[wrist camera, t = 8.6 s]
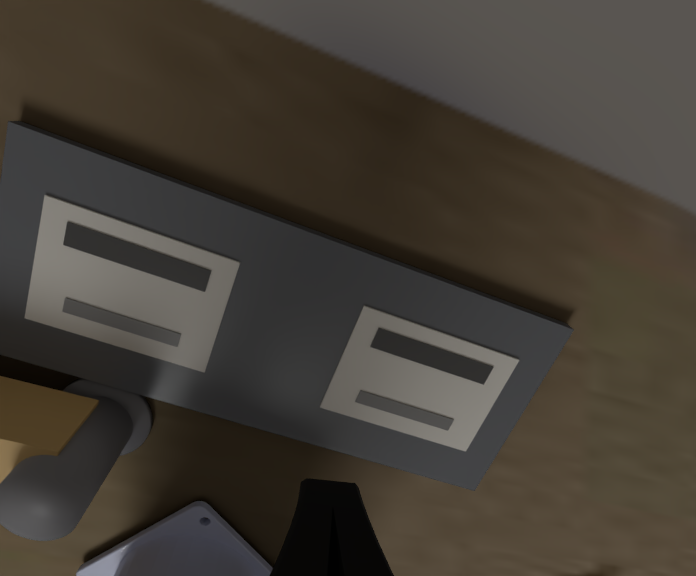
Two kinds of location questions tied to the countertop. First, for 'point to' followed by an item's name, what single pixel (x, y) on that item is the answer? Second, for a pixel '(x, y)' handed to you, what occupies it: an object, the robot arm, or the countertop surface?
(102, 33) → the countertop surface
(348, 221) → the countertop surface
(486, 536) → the countertop surface
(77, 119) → the countertop surface
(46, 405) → the bar
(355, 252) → the label plate
